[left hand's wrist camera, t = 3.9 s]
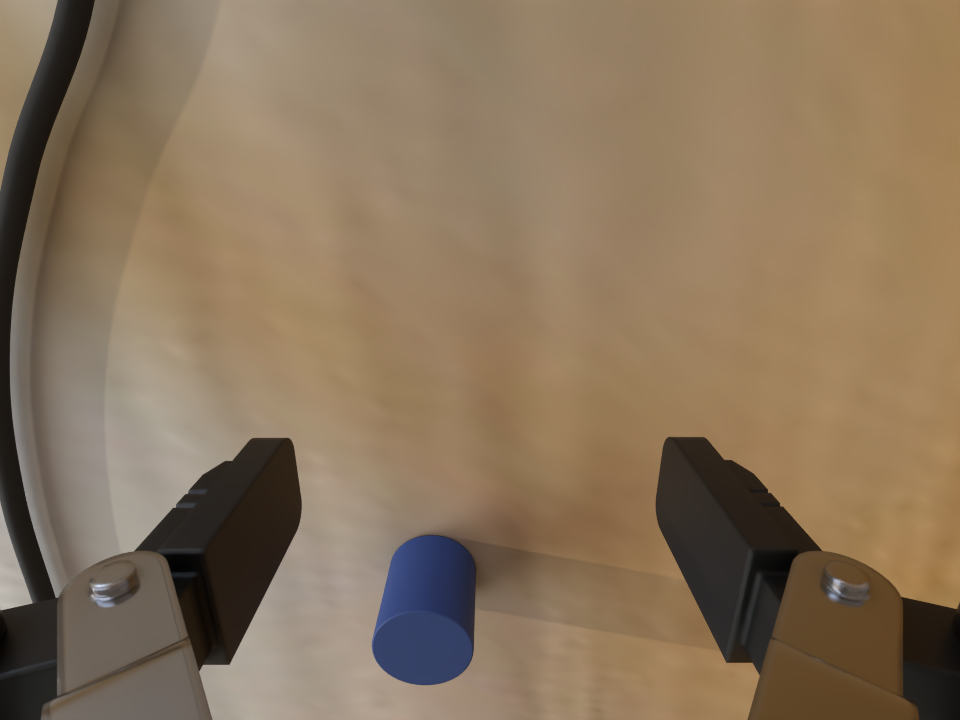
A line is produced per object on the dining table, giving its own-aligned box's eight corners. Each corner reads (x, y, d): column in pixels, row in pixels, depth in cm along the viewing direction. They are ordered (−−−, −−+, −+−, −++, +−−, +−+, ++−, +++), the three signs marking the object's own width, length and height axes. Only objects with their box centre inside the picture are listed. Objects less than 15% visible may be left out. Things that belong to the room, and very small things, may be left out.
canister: (417, 520, 24) (402, 596, 20) (492, 559, 25) (492, 638, 21) (375, 579, 26) (353, 660, 21) (448, 613, 26) (440, 699, 22)
